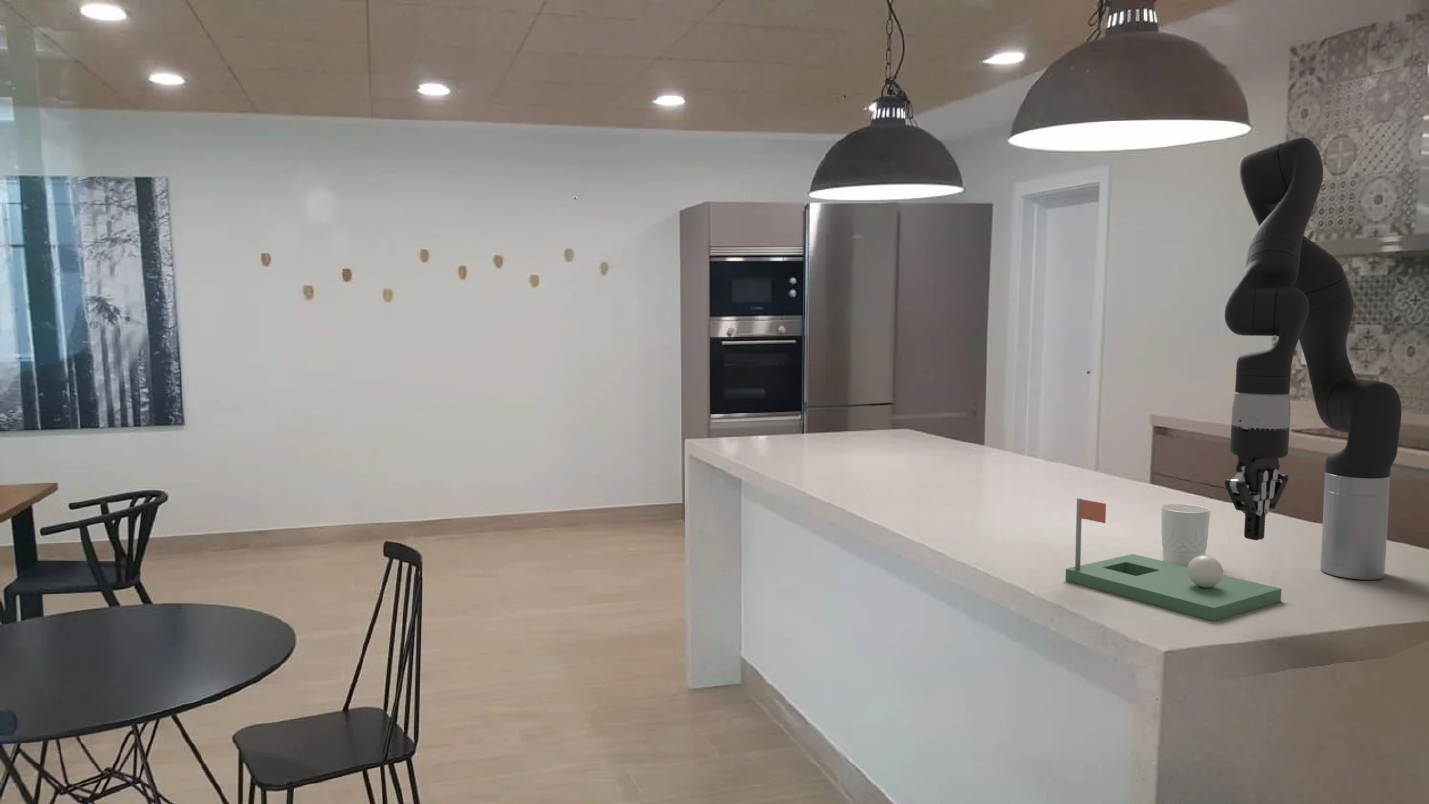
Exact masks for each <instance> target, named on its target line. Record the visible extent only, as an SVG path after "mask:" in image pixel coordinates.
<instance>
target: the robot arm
mask: <svg viewBox="0 0 1429 804" xmlns="http://www.w3.org/2000/svg"><path fill="white" fill-rule="evenodd" d="M1323 164H1324V163H1323V159H1322V157H1321V153H1320V151H1319V150H1318V147H1317V146H1316V144H1315V143H1314V142H1313V141H1312V140H1311V139H1309V138H1308V137H1297V138H1292V139H1288V140H1286V141H1283V142H1280V143H1278V144H1274V145H1272V146H1269V147H1266V148H1262V149H1259V150H1256V151H1254V152H1251V153H1248V154H1246V155H1244V156H1243V157H1242V158H1241V159H1240V161H1239V165H1238V172H1239V175H1238V176H1239V181H1240V184H1241V186H1242V187H1241V188H1242V190H1243V193H1244V195H1245V198H1246V200H1247V202H1248V204H1249V208H1250V210H1251V212H1252V213H1253V216H1254V218H1255V221H1256V223H1257V225H1258V227H1257V228H1256V231H1254V234H1253V236H1252V237H1251V240H1250V241H1249V244H1248V245H1249V246H1248V248H1247V249H1248V250H1247V255H1246V256H1247V257H1246V261H1245V263H1246V264H1245V269H1244V273H1242V276H1241V278H1240V280H1239V281H1238V283H1237V285H1235V287H1234V289H1233V290H1232V292H1231V294H1230V295H1229V297H1228V300H1227V303H1226V305H1225V308H1224V309H1225V310H1224V321H1225V324H1226V326H1227V327H1228V329H1229V330H1230V331H1231V332H1232V333H1233V334H1236V335H1238V336H1246V337H1247V336H1251V337H1252V336H1254V337H1255V336H1257V337H1259V336H1261V337H1262V336H1263V337H1264V336H1265V337H1278V339H1277V342H1276V343H1275V345H1273V346H1272V347H1270V348H1268V349H1264V350H1259V351H1258V350H1257V351H1251V352H1246V353H1243V354H1240V355H1239V356H1238V358H1237V359H1236V369H1235V370H1236V371H1235V389H1234V392H1235V393H1234V397H1233V403H1232V407H1231V425H1230V426H1231V427H1230V441H1229V442H1230V446H1229V451H1230V453H1231V454H1233V455H1235V456H1237V458H1238V459H1237V463H1236V466H1235V473H1236V474H1235V476H1234V477H1233V478H1231V479H1230V478H1226V479H1225V482H1224V486H1225V488H1226V490H1227V493H1228V495H1229V497H1230V499H1231V501H1232V504H1233V507H1234V509H1235V510H1236V511H1239V512H1242V513H1243V514H1244V530H1243V531H1244V532H1243V533H1244V534H1243V536H1244V538H1245V539H1247V540H1252V541H1260V540H1263V539H1264V538H1265V530H1266V529H1265V528H1266V527H1265V526H1266V515H1268V514H1269V513H1270V510H1275V509H1276V507H1277V505H1278V503H1279V500H1280V498H1281V497H1282V494H1283V492H1284V490H1285V487H1286V486H1287V484H1288V481H1289V476H1288V474H1284V473H1283V474H1282V473H1281V472H1280V465H1281V464H1280V462H1279V461H1280V460H1279V459H1283V458H1286V457H1287V456H1288V454H1289V445H1290V443H1289V442H1290V428H1291V427H1290V424H1291V402H1290V401H1291V400H1290V391H1291V375H1292V364H1293V359H1294V355H1295V351H1296V348H1297V344H1298V343H1300V346H1301V350H1302V353H1303V357H1304V361H1305V363H1306V367H1307V371H1308V377H1309V380H1310V386H1311V390H1312V395H1313V399H1314V404H1315V407H1316V411H1317V413H1318V416H1319V418H1320V419H1321V421H1322V422H1323V423H1324V425H1325V426H1327V427H1328V428H1330V429H1332V430H1334V431H1337V432H1342V433H1348V434H1347V441H1346V446H1345V447H1344V448H1343V449H1342V450H1340V451H1338V452H1334V453H1331V454H1328V456H1327V457H1326V458H1325V467H1324V468H1325V469H1324V471H1325V472H1324V486H1323V487H1324V490H1323V510H1322V511H1323V512H1322V513H1323V514H1322V530H1321V548H1320V549H1321V550H1320V571H1322V572H1324V573H1326V574H1328V575H1331V576H1335V577H1338V578H1339V577H1340V578H1345V579H1355V580H1364V581H1366V580H1367V581H1369V580H1381V579H1383V578H1385V573H1386V557H1387V556H1386V555H1387V542H1388V541H1387V539H1388V538H1387V537H1388V522H1389V521H1388V520H1389V502H1390V500H1389V499H1390V485H1391V484H1390V483H1391V469H1392V467H1393V465H1394V462H1395V460H1396V458H1397V454H1398V449H1399V439H1400V432H1401V431H1400V430H1401V423H1402V401H1401V397H1400V395H1399V393H1398V390H1397V389H1396V388H1395V387H1394V386H1393V385H1391V384H1389V383H1387V382H1385V381H1380V380H1370V379H1369V380H1368V379H1358V378H1357V376H1356V375H1355V373H1354V371H1353V369H1352V366H1351V362H1350V360H1349V356H1348V352H1347V337H1348V334H1349V331H1350V327H1351V323H1352V319H1353V314H1354V299H1353V295H1352V292H1351V288H1350V285H1349V283H1348V279H1347V277H1346V273H1345V271H1344V268H1343V267H1342V264H1341V263H1340V262H1339V261H1338V260H1337V259H1336V258H1335V256H1333V255H1332V254H1330V252H1328V251H1327V250H1325V249H1324V248H1323V247H1321V246H1320V245H1318V244H1317V243H1315V242H1314V241H1312V239H1309V238H1308V237H1307V236H1305V232H1306V230H1307V229H1306V228H1307V225H1308V223H1309V220H1310V218H1311V216H1312V213H1313V211H1314V208H1315V205H1316V202H1317V199H1318V196H1319V194H1320V190H1321V187H1322V183H1323V178H1324V167H1323V166H1324V165H1323ZM1298 341H1299V342H1298Z"/></svg>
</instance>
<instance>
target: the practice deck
mask: <svg viewBox="0 0 1429 804" xmlns="http://www.w3.org/2000/svg"><path fill="white" fill-rule="evenodd" d="M1106 511H1107V503H1105V502H1099V501H1094V500H1089V499H1085V498H1076V521H1075V522H1076V524H1075V555H1074V556H1075V559H1074V560H1075V561H1074V562H1075V564H1074V566H1071V567H1068V568H1066V569H1065V581H1067V582H1069V583H1073V584H1077V585H1081V586H1084V587H1088V588H1092V589H1096V590H1098V591H1102V592H1107V593H1110V594H1113V595H1117V596H1121V597H1124V598H1128V599H1131V600H1135V601H1138V602H1142V603H1146V604H1149V605H1153V606H1156V605H1157V607H1161V608H1163V609H1166V610H1167V609H1168V610H1170V611H1175V612H1178V613H1183V614H1185V615H1189V616H1193V617H1198V618H1200V619H1203V620H1208V621H1210V622H1216V621H1219V620H1223V619H1225V618H1229V617H1233V616H1235V615H1239V614H1243V613H1246V612H1249V611H1253V610H1256V609H1260V608H1263V607H1266V606H1269V605H1273V604H1275V603H1278V602H1282V588H1281V587H1277V586H1272V585H1268V584H1263V583H1258V582H1254V581H1250V580H1247V579H1242V578H1238V577H1233V576H1229V575H1224V574H1223V577H1222V579H1221V581H1220V582H1219V583H1218V584H1217V585H1215V586H1213V587H1209V588H1204V587H1200V586H1198V585H1196V584H1194V583H1193V582H1192V581H1191V579H1190V578H1189V576H1188V572H1187V569H1188V567H1186V566H1182V565H1178V564H1173V563H1169V562H1165V561H1163V560H1161V559H1160V560H1159V559H1156V558H1151V557H1148V556H1143V555H1138V554H1133V553H1131V554H1127V555H1122V556H1118V557H1113V558H1109V559H1105V560H1099V561H1095V562H1091V563H1086V564H1081V559H1082V558H1081V556H1082V555H1081V553H1082V552H1081V551H1082V549H1081V548H1082V547H1081V546H1082V519H1083V520H1088V521H1091V522H1092V521H1093V522H1096V523H1102V524H1106V516H1107V515H1106Z"/></svg>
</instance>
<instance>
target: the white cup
mask: <svg viewBox="0 0 1429 804" xmlns="http://www.w3.org/2000/svg"><path fill="white" fill-rule="evenodd" d="M1160 508H1161V509H1160V510H1161V512H1160V514H1161V516H1160V517H1161V545H1162V561H1165V562H1169V563H1173V564H1178V565H1182V566H1186V567H1188V565H1189V563H1190V561H1191V560H1192V559H1194V558H1195V557H1197V556H1201V555H1206V554H1207V553H1206V551H1207V546H1208V540H1209V539H1208V538H1209V531H1210V530H1209V527H1210V518H1211V517H1210V516H1211V509H1210V508H1209V507H1206V506H1201V505H1196V504H1189V503H1188V504H1186V503H1168V504H1163V505H1161V507H1160Z"/></svg>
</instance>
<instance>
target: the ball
mask: <svg viewBox="0 0 1429 804" xmlns="http://www.w3.org/2000/svg"><path fill="white" fill-rule="evenodd" d="M1187 572H1188V576H1189V578H1190V579H1191V581H1192V582H1193V583H1194V584H1196V585H1198V586H1200V587H1204V588H1209V587H1213V586H1215V585H1217V584H1218V583H1219V582H1220V581H1221V579H1222V577H1223V575H1224V569H1223V566H1222V564H1221V563H1220V561H1218V559H1216V558H1215V557H1213V556H1210V555H1206V554H1205V555H1201V556H1197V557H1195V558H1194V559H1192V560H1191V561H1190V563H1189V565H1188V569H1187Z"/></svg>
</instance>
